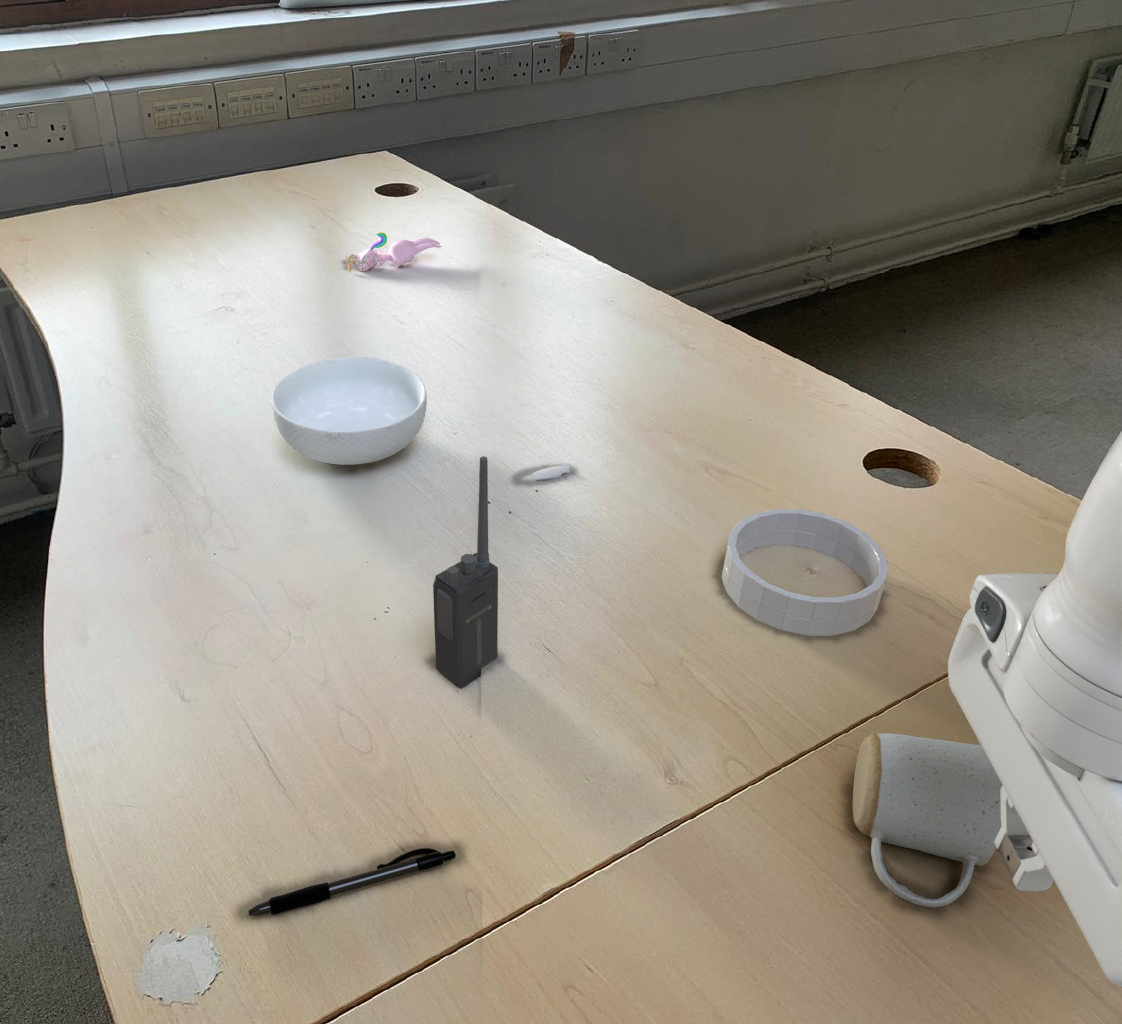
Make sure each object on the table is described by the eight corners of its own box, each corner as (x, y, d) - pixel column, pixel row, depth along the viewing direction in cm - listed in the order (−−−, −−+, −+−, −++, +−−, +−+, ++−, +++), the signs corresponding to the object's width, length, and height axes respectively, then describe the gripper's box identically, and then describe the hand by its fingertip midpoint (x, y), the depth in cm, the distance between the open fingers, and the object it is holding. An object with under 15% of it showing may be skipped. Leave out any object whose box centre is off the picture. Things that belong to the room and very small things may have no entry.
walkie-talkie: (472, 642, 85) (473, 443, 73) (500, 663, 83) (505, 461, 71) (430, 669, 82) (424, 467, 71) (457, 691, 80) (455, 486, 69)
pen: (450, 846, 68) (449, 835, 68) (457, 866, 67) (457, 855, 66) (247, 903, 65) (245, 893, 64) (251, 926, 64) (248, 915, 63)
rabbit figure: (352, 285, 153) (446, 262, 153) (343, 249, 149) (439, 225, 150) (348, 270, 158) (439, 248, 158) (339, 235, 154) (432, 212, 155)
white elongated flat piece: (520, 494, 104) (519, 485, 103) (512, 481, 106) (512, 473, 105) (574, 481, 105) (574, 472, 104) (566, 469, 107) (565, 460, 106)
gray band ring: (849, 547, 95) (859, 509, 93) (897, 643, 84) (911, 602, 82) (708, 546, 96) (715, 508, 93) (738, 641, 85) (746, 601, 82)
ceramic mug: (845, 773, 73) (869, 701, 68) (965, 798, 71) (999, 725, 66) (850, 900, 65) (879, 827, 60) (987, 931, 63) (1027, 858, 58)
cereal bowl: (248, 466, 109) (239, 410, 104) (325, 398, 121) (320, 346, 117) (385, 501, 103) (382, 443, 98) (451, 427, 115) (451, 372, 111)
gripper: (1342, 886, 38) (1187, 1064, 46) (1078, 558, 55) (998, 731, 63) (1174, 882, 38) (1049, 1060, 46) (962, 557, 55) (897, 729, 63)
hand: (1019, 868), depth 55 cm, fingers closed
